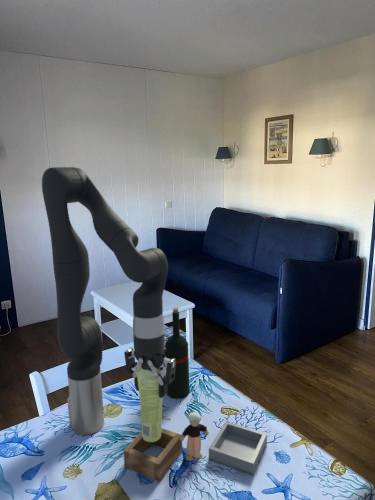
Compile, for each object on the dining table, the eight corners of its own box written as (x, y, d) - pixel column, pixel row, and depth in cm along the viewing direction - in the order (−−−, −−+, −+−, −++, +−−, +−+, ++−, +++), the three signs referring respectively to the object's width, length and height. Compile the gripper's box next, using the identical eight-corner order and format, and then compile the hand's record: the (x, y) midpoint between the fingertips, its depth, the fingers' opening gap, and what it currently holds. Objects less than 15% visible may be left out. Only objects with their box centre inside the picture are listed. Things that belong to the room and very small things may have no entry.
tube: (156, 426, 101) (154, 359, 97) (167, 436, 98) (165, 367, 93) (138, 435, 98) (135, 367, 94) (148, 446, 94) (146, 375, 90)
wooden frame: (124, 467, 96) (123, 450, 95) (149, 439, 106) (148, 423, 105) (159, 482, 92) (159, 464, 90) (182, 451, 102) (181, 434, 100)
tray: (208, 459, 98) (208, 448, 98) (225, 431, 109) (225, 421, 108) (253, 475, 93) (253, 463, 92) (266, 444, 103) (267, 433, 103)
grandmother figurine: (185, 465, 96) (184, 421, 94) (179, 455, 100) (178, 413, 97) (211, 455, 100) (211, 412, 97) (204, 445, 103) (203, 404, 101)
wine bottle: (161, 385, 133) (157, 304, 126) (189, 385, 132) (188, 304, 126) (158, 399, 125) (155, 313, 119) (189, 399, 125) (187, 313, 118)
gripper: (182, 330, 91) (183, 392, 95) (133, 320, 98) (135, 378, 101) (166, 342, 85) (168, 408, 88) (115, 331, 91) (118, 393, 95)
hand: (150, 392), depth 95 cm, fingers closed on tube, 6 cm apart
